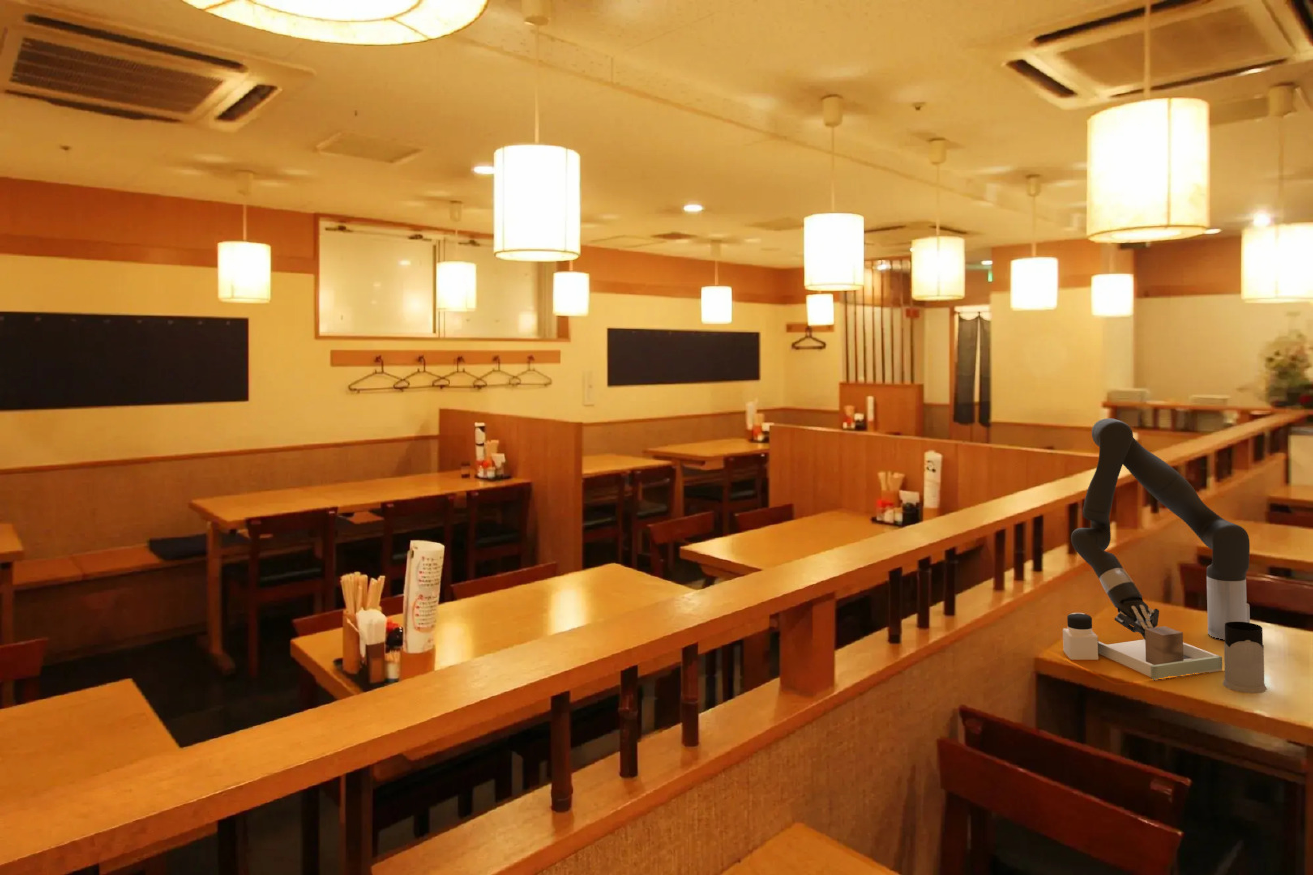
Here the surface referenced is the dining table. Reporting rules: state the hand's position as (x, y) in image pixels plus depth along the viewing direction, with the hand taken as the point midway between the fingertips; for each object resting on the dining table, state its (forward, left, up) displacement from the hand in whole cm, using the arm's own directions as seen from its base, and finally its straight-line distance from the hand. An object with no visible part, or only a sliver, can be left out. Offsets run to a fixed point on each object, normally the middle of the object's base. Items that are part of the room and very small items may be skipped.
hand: (1154, 643), depth 218 cm
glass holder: (-8, +18, -5) cm, 21 cm away
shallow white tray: (0, -2, -5) cm, 5 cm away
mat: (-7, -1, -5) cm, 9 cm away
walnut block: (0, +4, -4) cm, 6 cm away
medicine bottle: (+15, -10, -5) cm, 19 cm away
